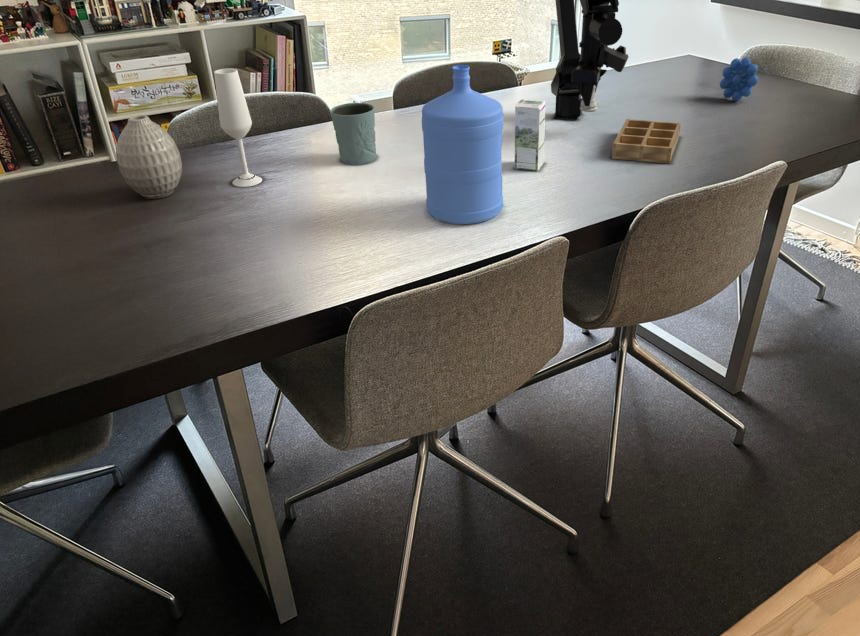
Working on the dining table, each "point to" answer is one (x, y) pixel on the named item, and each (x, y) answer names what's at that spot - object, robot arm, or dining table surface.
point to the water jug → (463, 153)
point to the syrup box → (529, 134)
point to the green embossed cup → (355, 132)
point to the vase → (148, 158)
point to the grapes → (739, 78)
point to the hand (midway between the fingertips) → (589, 103)
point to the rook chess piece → (592, 105)
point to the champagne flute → (234, 116)
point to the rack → (646, 141)
